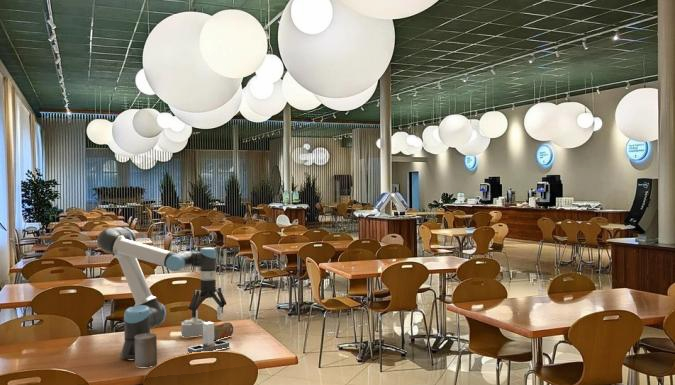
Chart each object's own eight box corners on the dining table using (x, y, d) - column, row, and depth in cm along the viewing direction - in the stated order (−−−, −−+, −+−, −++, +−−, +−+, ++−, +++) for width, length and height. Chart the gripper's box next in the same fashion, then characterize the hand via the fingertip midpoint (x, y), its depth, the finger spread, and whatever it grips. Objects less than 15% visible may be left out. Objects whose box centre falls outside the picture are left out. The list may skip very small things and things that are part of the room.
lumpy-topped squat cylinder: (180, 334, 325) (180, 318, 325) (204, 332, 329) (204, 316, 329) (182, 339, 315) (182, 322, 315) (207, 336, 320) (207, 320, 319)
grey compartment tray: (195, 356, 282) (195, 349, 282) (187, 353, 287) (187, 346, 287) (229, 348, 295) (229, 341, 295) (221, 345, 300) (221, 339, 300)
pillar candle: (159, 362, 273) (159, 329, 273) (153, 368, 263) (153, 335, 263) (138, 362, 273) (137, 330, 273) (132, 369, 263) (131, 335, 263)
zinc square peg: (207, 352, 288) (207, 324, 288) (203, 351, 291) (202, 322, 291) (214, 351, 291) (214, 322, 291) (210, 349, 294) (209, 321, 294)
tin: (212, 342, 307) (212, 326, 307) (208, 341, 309) (208, 325, 308) (233, 336, 319) (233, 321, 319) (229, 335, 321) (229, 320, 320)
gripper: (189, 282, 279) (189, 327, 280) (233, 277, 297) (233, 319, 297) (181, 280, 285) (181, 324, 285) (225, 275, 302) (224, 316, 302)
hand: (207, 321), depth 291 cm, fingers open, 13 cm apart
